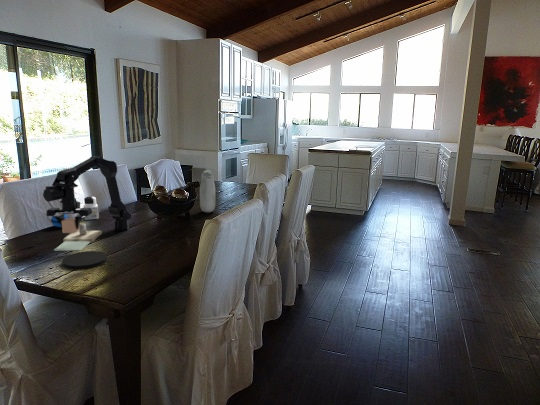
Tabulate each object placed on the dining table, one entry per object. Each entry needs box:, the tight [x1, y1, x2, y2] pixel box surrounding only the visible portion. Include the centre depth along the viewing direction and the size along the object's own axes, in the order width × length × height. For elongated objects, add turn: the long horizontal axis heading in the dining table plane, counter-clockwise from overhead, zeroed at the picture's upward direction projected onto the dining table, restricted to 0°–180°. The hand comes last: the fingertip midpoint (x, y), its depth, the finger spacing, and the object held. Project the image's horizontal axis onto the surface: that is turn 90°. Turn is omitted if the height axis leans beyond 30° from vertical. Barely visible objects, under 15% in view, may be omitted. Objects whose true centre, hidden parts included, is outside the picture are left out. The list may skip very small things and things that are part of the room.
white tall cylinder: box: [199, 169, 216, 213], centre depth 255 cm, size 10×10×28 cm
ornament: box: [50, 214, 69, 228], centre depth 216 cm, size 9×9×10 cm
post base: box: [63, 223, 103, 243], centre depth 200 cm, size 14×14×7 cm
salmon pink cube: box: [61, 217, 80, 234], centre depth 185 cm, size 6×6×6 cm
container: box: [83, 196, 100, 221], centre depth 236 cm, size 8×8×13 cm
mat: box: [53, 241, 91, 252], centre depth 187 cm, size 12×12×1 cm
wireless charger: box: [61, 250, 108, 271], centre depth 169 cm, size 18×18×2 cm
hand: (71, 229), depth 185 cm, fingers closed on salmon pink cube, 6 cm apart
